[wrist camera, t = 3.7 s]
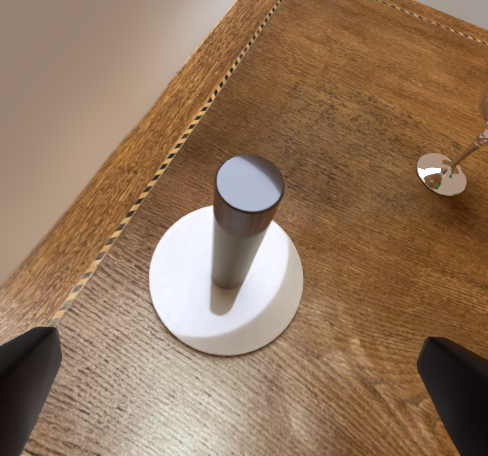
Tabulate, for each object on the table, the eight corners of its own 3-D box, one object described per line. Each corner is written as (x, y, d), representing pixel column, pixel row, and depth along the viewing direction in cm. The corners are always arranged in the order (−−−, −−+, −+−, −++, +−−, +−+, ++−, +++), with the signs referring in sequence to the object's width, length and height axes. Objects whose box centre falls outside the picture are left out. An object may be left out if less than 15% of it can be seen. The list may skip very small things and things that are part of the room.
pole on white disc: (249, 392, 17) (311, 426, 7) (115, 292, 19) (13, 206, 9) (325, 258, 21) (430, 162, 11) (210, 184, 23) (215, 43, 13)
